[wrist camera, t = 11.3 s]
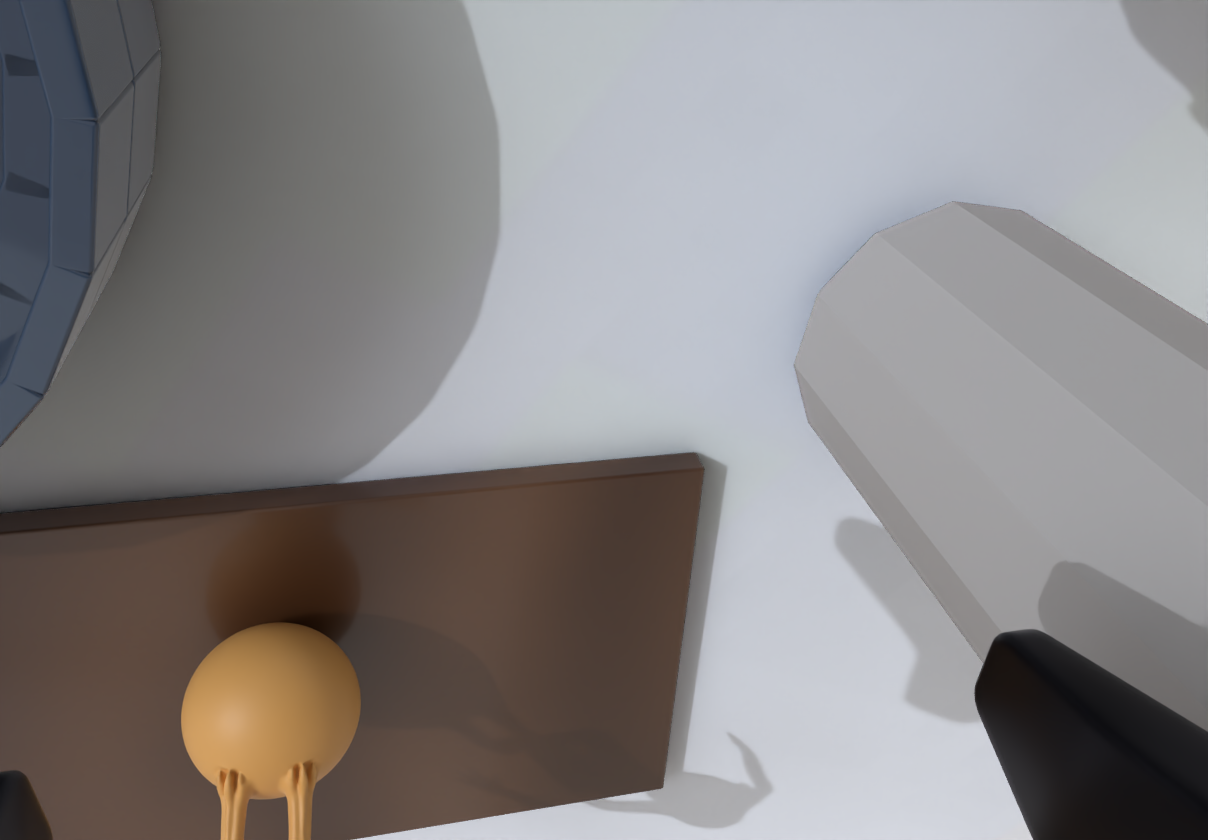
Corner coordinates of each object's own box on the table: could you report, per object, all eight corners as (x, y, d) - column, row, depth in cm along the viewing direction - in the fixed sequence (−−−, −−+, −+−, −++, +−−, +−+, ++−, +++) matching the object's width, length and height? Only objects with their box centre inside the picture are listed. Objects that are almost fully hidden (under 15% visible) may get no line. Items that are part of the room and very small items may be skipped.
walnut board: (696, 450, 24) (705, 468, 23) (657, 768, 31) (663, 789, 30) (-192, 528, 20) (-211, 553, 19) (-5, 875, 27) (-14, 901, 26)
